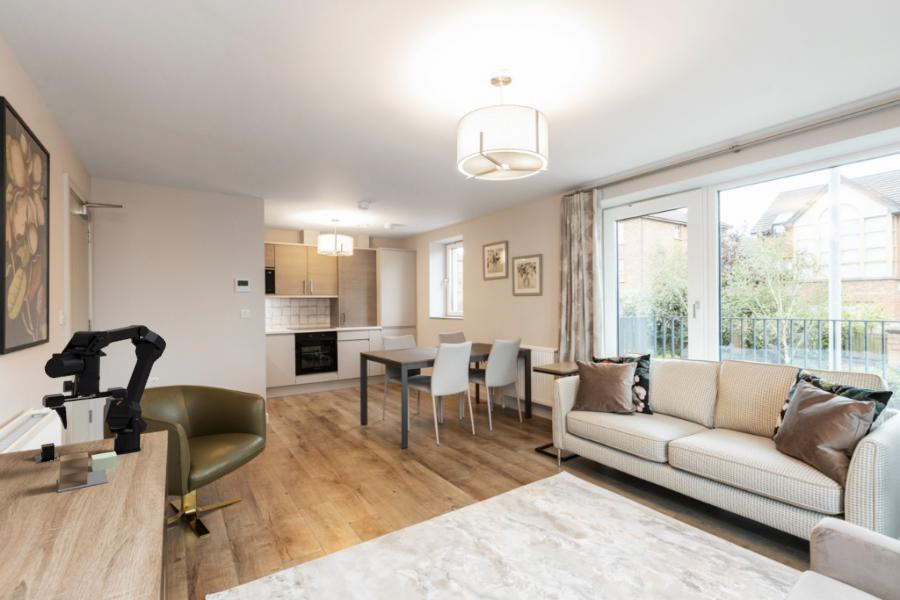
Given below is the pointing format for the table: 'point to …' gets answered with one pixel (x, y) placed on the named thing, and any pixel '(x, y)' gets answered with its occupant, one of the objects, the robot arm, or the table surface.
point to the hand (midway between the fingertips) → (86, 425)
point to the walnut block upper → (73, 463)
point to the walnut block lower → (73, 480)
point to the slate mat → (90, 480)
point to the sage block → (103, 461)
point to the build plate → (46, 453)
